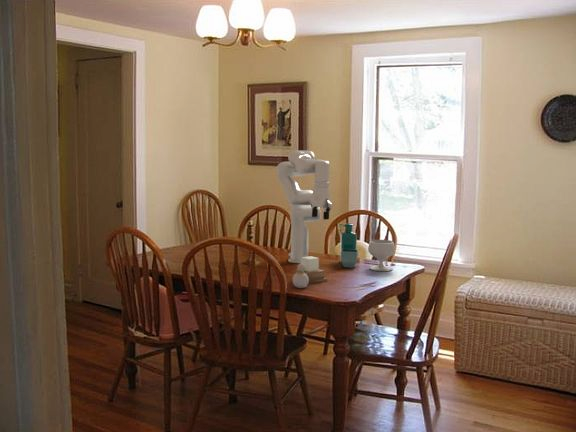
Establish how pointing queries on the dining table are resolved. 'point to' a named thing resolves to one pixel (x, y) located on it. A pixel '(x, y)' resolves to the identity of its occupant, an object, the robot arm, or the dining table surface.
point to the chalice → (381, 252)
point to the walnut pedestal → (314, 276)
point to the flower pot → (349, 257)
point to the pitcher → (348, 238)
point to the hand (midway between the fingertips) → (320, 218)
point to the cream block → (310, 263)
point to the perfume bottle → (300, 277)
